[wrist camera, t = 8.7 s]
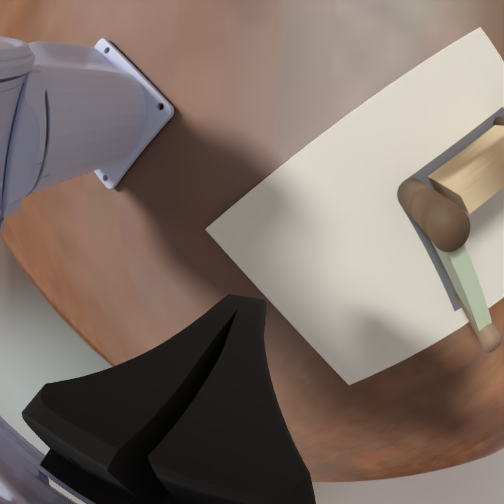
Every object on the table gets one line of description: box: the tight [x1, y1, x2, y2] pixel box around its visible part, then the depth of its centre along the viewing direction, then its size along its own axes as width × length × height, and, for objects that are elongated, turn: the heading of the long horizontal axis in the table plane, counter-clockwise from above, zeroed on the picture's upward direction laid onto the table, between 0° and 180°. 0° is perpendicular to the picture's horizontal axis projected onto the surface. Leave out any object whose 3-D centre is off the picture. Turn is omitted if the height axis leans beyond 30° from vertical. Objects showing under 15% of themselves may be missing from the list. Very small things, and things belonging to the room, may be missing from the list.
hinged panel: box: [431, 241, 502, 352], centre depth 13 cm, size 8×1×6 cm, turn 43°
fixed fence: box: [397, 117, 504, 252], centre depth 11 cm, size 10×2×6 cm, turn 132°
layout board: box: [205, 27, 504, 385], centre depth 16 cm, size 18×24×1 cm
